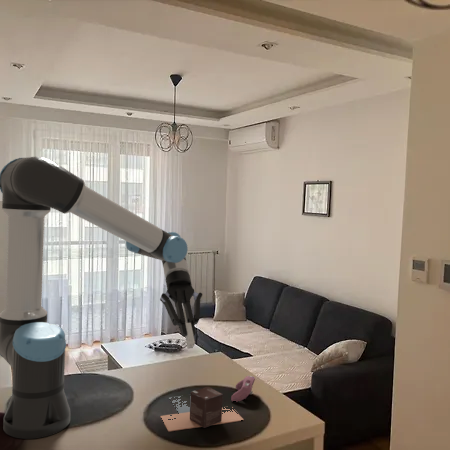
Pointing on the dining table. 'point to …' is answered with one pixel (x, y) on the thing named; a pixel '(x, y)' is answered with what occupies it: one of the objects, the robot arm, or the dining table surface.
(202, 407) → the box
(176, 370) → the dining table surface
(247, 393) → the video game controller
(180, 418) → the t mat
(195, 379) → the dining table surface
